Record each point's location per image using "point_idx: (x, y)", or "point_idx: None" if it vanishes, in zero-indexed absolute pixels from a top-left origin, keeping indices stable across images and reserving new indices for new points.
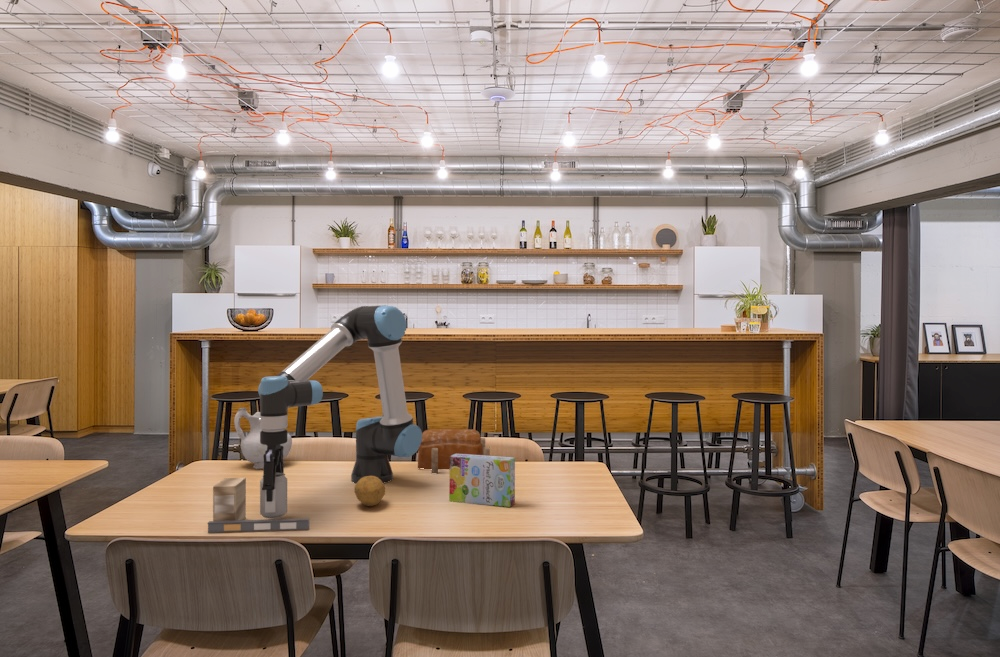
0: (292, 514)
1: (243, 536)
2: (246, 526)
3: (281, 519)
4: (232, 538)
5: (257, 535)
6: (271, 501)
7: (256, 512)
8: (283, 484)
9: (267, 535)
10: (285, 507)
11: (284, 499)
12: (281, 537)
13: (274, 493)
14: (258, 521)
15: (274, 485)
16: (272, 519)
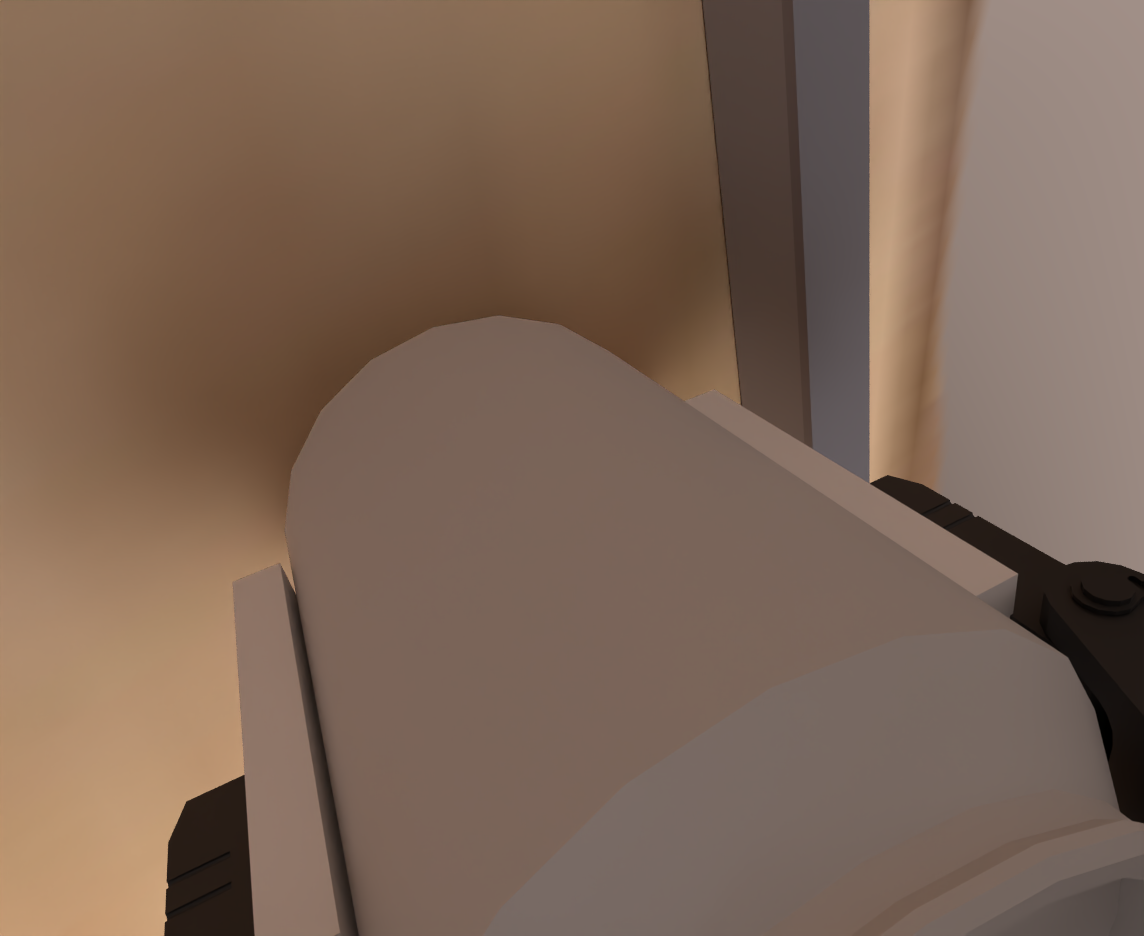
0: (39, 398)
1: (901, 437)
2: None
3: (818, 188)
4: (934, 488)
5: (890, 332)
6: (888, 478)
7: (159, 860)
8: (901, 575)
9: (900, 230)
10: (536, 341)
11: (630, 397)
12: (974, 25)
13: (943, 533)
14: (867, 433)
15: (1094, 648)
16: (811, 316)
